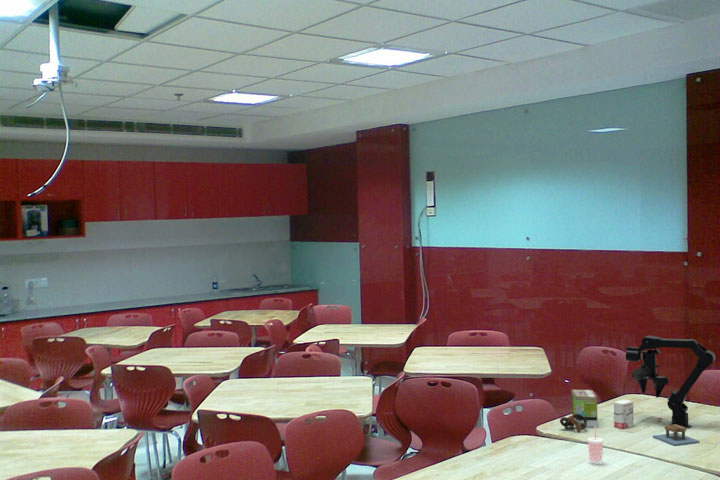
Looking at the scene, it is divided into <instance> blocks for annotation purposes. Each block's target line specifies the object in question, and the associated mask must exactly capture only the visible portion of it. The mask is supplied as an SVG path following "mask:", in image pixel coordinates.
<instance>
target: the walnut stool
mask: <svg viewBox="0 0 720 480" xmlns="http://www.w3.org/2000/svg"><path fill="white" fill-rule="evenodd" d="M664 430H665V434H666V437H667V438H669V434H670V432H672V433H674V440H675V441H677V433H681V434H682V439H685V436H686V432H687V428H685V427H682V426H679V425H677V424H674V425H670V424H667V425H664Z"/></svg>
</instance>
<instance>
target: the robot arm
mask: <svg viewBox="0 0 720 480" xmlns="http://www.w3.org/2000/svg"><path fill="white" fill-rule="evenodd" d="M660 348H676V349H677V348H678V349H679V348H680V349H690V350H691V351H692V352H693V353H694V355H696V357H697V358H698V359H697V362H696V364H695V367H693V368H694V369H692V371H691V372H690V374H689V375H688V377H687V378H686V380H685V381H684V383H683V384H682V385H681V387H680V388H679V390H677V391H676V390H675V389H674V390H673V391H672V392H671V394H670V395H669V397H668V398H667V407H668V409H670V410H671V412H672V413H671V414H672V416H671V423H669V425H674V424H677V425H679V426H682V427H685V428H686V429H688V428H692V426H691V425H690V424H689V413H688V410H689V407H688V406H687V405H686V403H684V402H685V400H686V397H687V396H688V393H689V392H690V391H691V389H692V387H694V385H695V383H696V382H697V381H698V379H699V378H700V376H701V375H702V374H703V372H704V371H705V370H707V369H708V368H709V367H710V366H711V365H712V364H713V363H714V361H715V360H716V355H715V353H714V352H713V351H712V350H708V348H706V347H704V346H703V345H702V344H701V343H699V342H698V341H697V340H696V339H695V338H690V339H687V338H685V339H681V338H664V337H659V336H655V335H646V336H644V337H643V338H642V340H641V344H640V346H638V347H632V346H626V351H625V361H627V362H636V363H639V362H640V361H642V364H640V368H637V369H635V370H633V371H632V372H631V377H632V378H633V379H634V380H635V381H636V382H637V383H638V385H639V387H640V390H641V393H642V394H645V393H646V389H647V386H648V385H647V384H648V379H649V380H651V381H652V385H653V386H654V391H655V397H656V398H660V395H661V393H662V391H663V390H664V388H665V386H666V385H668V384H669V383H670V381H669V380H670V379H669V378H668V377H667V376H664V375H659V373H658V372H657V368H659V365H658V364H657V355H659V354H660V355H661V351H660V350H659V349H660ZM687 427H688V428H687Z"/></svg>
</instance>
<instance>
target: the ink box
mask: <svg viewBox="0 0 720 480" xmlns="http://www.w3.org/2000/svg"><path fill="white" fill-rule="evenodd" d="M634 420H635V419H634V401H632V400H629V399H620V400H616V401H613V422H614V424H613V425H614V428H617V429H621V430H625V429H628V428H631V427H634V424H635V423H634V422H635V421H634Z"/></svg>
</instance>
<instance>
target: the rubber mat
mask: <svg viewBox="0 0 720 480" xmlns="http://www.w3.org/2000/svg"><path fill="white" fill-rule="evenodd" d="M652 438H653V439H655V440H658V441H661V442H663V443H666V444H668V445H670V446H674V447H677V446H684V445H685V446H686V445H693V444H700V440H698V439H695V438H693V437H691V436H687V435H685V439H682V433H680V432H677V441H675V440H674V433H673V432H672V433H670V432H669V438H667V437H666V433H665V434H663V433H662V434H657V435H656V434H655V435H652Z"/></svg>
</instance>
